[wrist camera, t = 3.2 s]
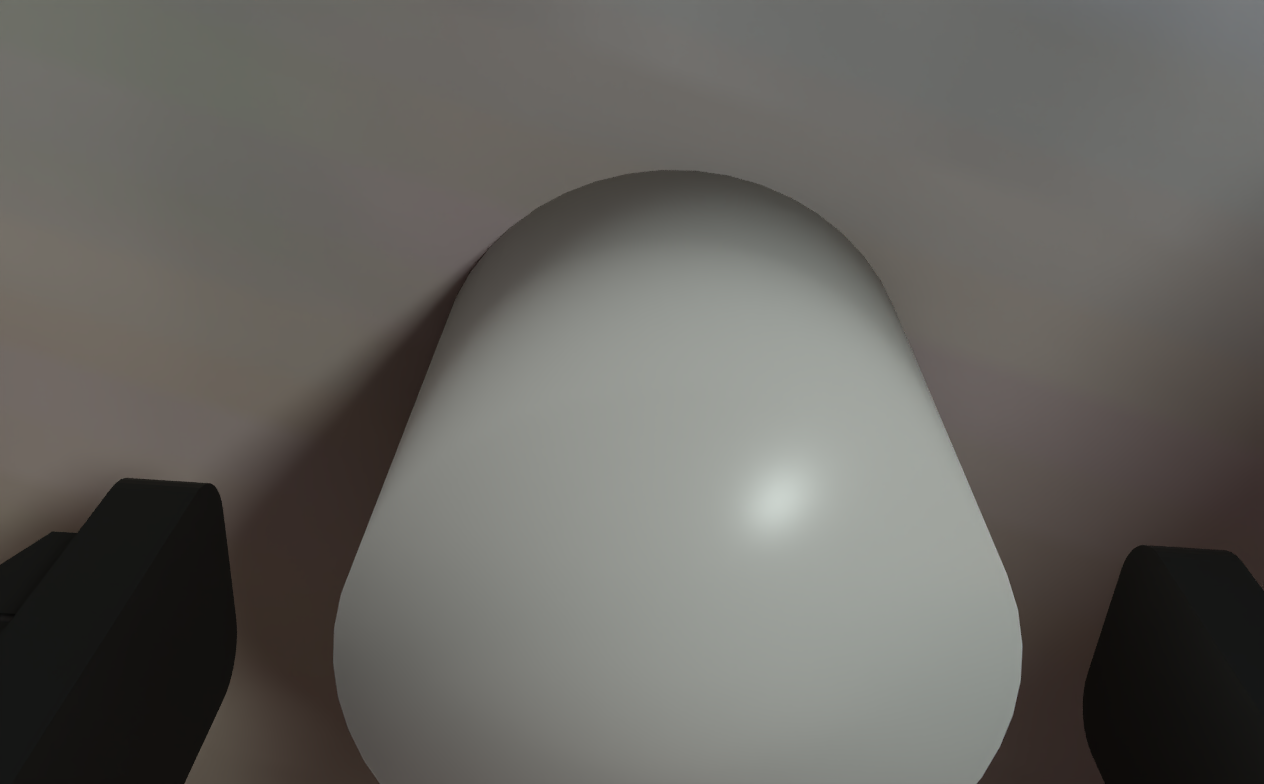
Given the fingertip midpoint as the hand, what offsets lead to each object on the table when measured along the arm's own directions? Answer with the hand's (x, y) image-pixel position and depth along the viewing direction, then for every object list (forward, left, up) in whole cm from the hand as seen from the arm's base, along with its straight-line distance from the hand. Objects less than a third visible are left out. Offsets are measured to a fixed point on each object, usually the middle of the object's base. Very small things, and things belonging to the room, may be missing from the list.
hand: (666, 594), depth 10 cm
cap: (-1, 0, -3) cm, 3 cm away
